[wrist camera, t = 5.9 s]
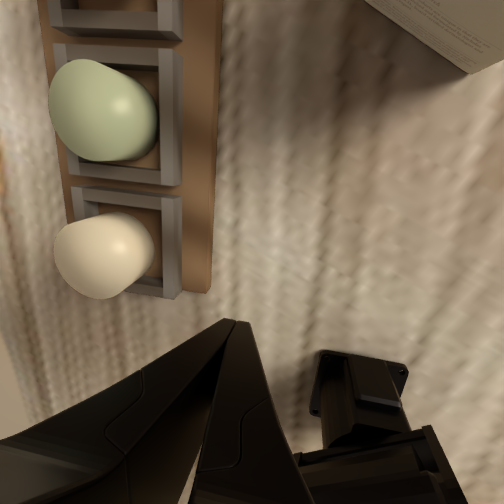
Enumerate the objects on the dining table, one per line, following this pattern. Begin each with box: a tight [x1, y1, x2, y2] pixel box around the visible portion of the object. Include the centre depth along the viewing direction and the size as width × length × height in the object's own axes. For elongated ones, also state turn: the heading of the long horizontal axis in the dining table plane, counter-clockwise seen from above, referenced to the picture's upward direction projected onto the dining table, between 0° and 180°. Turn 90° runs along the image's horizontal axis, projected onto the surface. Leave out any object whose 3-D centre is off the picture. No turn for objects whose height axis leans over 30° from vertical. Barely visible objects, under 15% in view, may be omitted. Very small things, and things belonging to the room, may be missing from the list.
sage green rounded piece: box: [48, 59, 160, 161], centre depth 16 cm, size 5×5×3 cm
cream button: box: [53, 212, 155, 299], centre depth 18 cm, size 5×5×3 cm
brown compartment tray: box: [37, 0, 223, 300], centre depth 18 cm, size 23×11×3 cm, turn 175°
